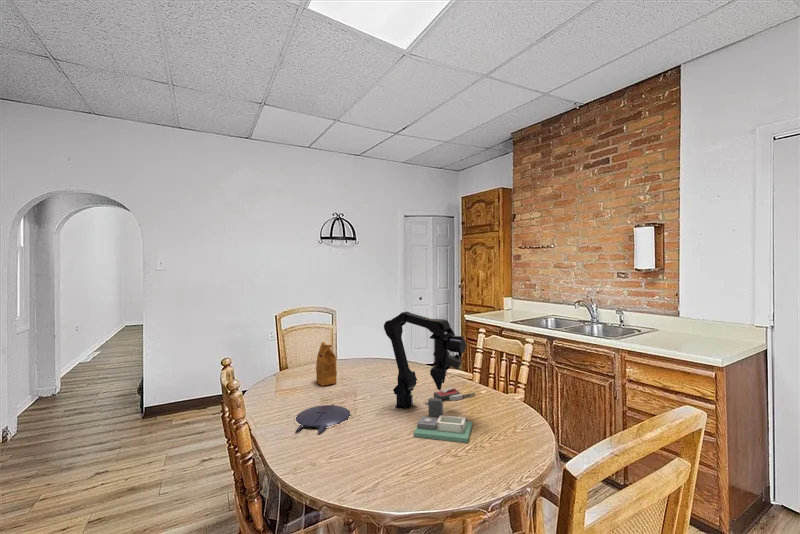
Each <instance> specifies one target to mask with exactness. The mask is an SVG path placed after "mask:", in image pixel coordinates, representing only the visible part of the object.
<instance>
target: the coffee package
mask: <svg viewBox="0 0 800 534" xmlns="http://www.w3.org/2000/svg"><path fill="white" fill-rule="evenodd" d="M331 348H332V345H331V344H326V342H324V341H321V345H320V347H319V349H318V352H317V357H316V367H315V370H316V371H315V372H316V374H315V375H316V379H315V380H316V383H317V382H318V383H317V384H318V385H319V384H320V385H323V386H322V387H325V386H324V385H326V386H329V385H333V384H336V383H337V357H336V355H335V354H334V353H333V351H332V349H331ZM320 385H319V386H320Z"/></svg>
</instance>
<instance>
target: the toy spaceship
mask: <svg viewBox="0 0 800 534" xmlns="http://www.w3.org/2000/svg"><path fill="white" fill-rule="evenodd" d="M350 412H351V411H350V410H349V409H348V408H346V407H344V406H339V405H335V404H334V405H332V404H323V405H317V406H313V407H309V408H306V409H304V410H302V411H301V413H300V412H299V413H298V414H296V416H297V417H296V416H295V417H296V421H297V422H298V423H299V424H301V425H300V426H299V427H298V426H297V428H296V430H295V432H298V431H299V430H300V429H302V426H303V427H306V428H309V427H310V428H311V427H312V428H313V427H314V428H316V429H317V432H318V433H320V434H321V433H323V432H325V431H326V429H325V428H326V427H329V426H332V425H335V424H340V423H341V422H343V421H345V420H348V418H349V416H351V417H352V414H351V415H350ZM348 421H349V420H348ZM318 428H319V429H318Z"/></svg>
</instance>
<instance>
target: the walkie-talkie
mask: <svg viewBox="0 0 800 534" xmlns="http://www.w3.org/2000/svg"><path fill="white" fill-rule="evenodd" d="M475 395H476V393H475V392H472V393H467V394H461V393H460V391H459V390H457V389H456V388H454V387H448V388H445V389H444V390H442V389H441V390H439V391H436V392H433V398H438V399H441V402H446V401H453V400H455V401H461V400H463V399H464V398H467V397H471V396H475ZM460 399H461V400H460ZM445 400H446V401H445Z"/></svg>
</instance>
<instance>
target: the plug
mask: <svg viewBox="0 0 800 534" xmlns="http://www.w3.org/2000/svg"><path fill="white" fill-rule="evenodd" d="M424 405H425V406H428V417H433V418H439V416H440V415H444V401H441V399H438V398H434V397H429V399H428V400H427V401H425V402H424Z"/></svg>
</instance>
